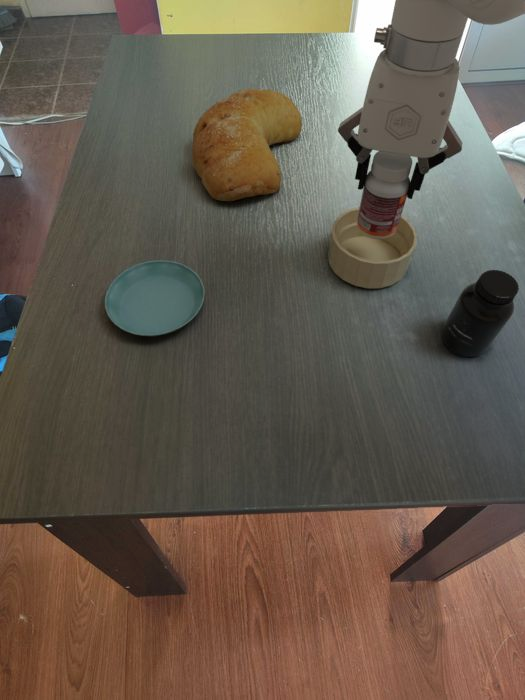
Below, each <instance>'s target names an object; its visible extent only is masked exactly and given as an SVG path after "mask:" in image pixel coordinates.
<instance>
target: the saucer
mask: <svg viewBox="0 0 525 700" xmlns="http://www.w3.org/2000/svg"><path fill="white" fill-rule="evenodd" d="M205 289H206V288H205V286H204V283H203V279H202V278H201V277H200V275H199V274H198V273H197V272H196V271H195V270H193V268H191V267H189V266H187V265H186V264H184V263H181V262H178V261H175V260H165V259H158V260H157V259H155V260H149V261H144V262H141V263H138V264H135V265H133V266H130V267H129V268H127V269H125V270H124V271H122V272H121V273H119V275H117V276H116V277H115V278H114V279H113V281H112V282H111V283H110V285H109V287H108V288H107V290H106V293H105V297H104V307H105V311H106V315H107V317H108V318H109V319H110V321H111V322H112V323H113V325H115V326H116V327H118V328H119V329H121V330H122V331H124V332H127V333H129V334H132V335H136V336H142V337H158V336H164V335H168V334H171V333H174V332H176V331H178V330H180V329H182V328H183V327H185V326H186V325H188V324H189V323H190V322H191V321H192V320H193V319H195V317H196V316H197V315H198V313H199V312H200V310H201V309H202V308H203V304H204V302H205V296H206V290H205Z"/></svg>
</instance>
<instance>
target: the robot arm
mask: <svg viewBox="0 0 525 700" xmlns="http://www.w3.org/2000/svg"><path fill="white" fill-rule="evenodd" d="M523 15H525V0H395V2H394V7H393V12H392V17H391V23H390V24H388V25H387V26H384V27H383V28H381V27H376V29H375V32H374V33H375V34H374V39H373V43H377V44H380V45H381V46H382V47H383V50H381V51H380V52H379V55H378V56H377V57H376V60H375V63H374V65H373V68H372V70H371V74H370V77H369V80H368V85H367V87H366V92H365V97H364V100H363V106H362V107H360V108H359V109H357V111H355V112H354V113H352V114H351V115H349V116H347V117H346V118H345V119H343V120H342V121H341V122H340V123H339V125H338V128H337V132H338V134H339V135H340V137H341V138H342V139H343V141H344V142H346V144H347V147H348V148H349V150H350V151H351V152H352V153H353V155H354V156H355V160H356V162H357V165H356V171H355V175H354V180H356V181H358V186H357V190H359V191H362V190H363V188H364V183H365V179H366V176H367V174H368V173H369V166H370V163H371V162H370V161H371V158H372V154H371V153H372V151H376V152H378V151H382V152H388V153H394V154H400V155H406V156H410V157H411V158H412V157H413V158H417V161H416V162H415V165H414V168H413V170H412V171H413V172H412V175H411V179H410V187H409V191H408V194H407V199H409V200H412V199H413V197H414V194H415V191H417V192H420V191H421V189H422V184H423V182H424V178H425V176H426V175H427V174H428V173H429V171H430V170H432V169H433V168H435V167H437V166H439V165H441V164H442V163H444V162H445V160H447V159H450V158H452V157H454V156H455V155H457V154H460V153H461V152H462V149H463V141H462V139H461V138H460V136H459V135H458V132H457V131H456V130H455V128H454V127H453V125H452V124H451V122H450V120H449V119H450V116H451V112H452V109H453V106H454V101H455V97H456V93H457V87H458V82H459V74H460V63H459V60H458V59H457V54H458V51H459V48H460V45H461V42H462V38H463V35H464V32H465V30H466V25H467V22H468V20H471V21H473V22H475V23H477V24H481V25H485V26H486V25H488V26H493V25H500V24H503V23H506V22H508V21H511V20H514V19H517V18H519V17H521V16H523ZM355 128H358V131H357V133H356V131H355V130H354V129H355ZM443 140H444V142H445V145H444V146H443V147H441V145H442V143H443Z"/></svg>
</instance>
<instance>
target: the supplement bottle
mask: <svg viewBox="0 0 525 700" xmlns="http://www.w3.org/2000/svg"><path fill="white" fill-rule="evenodd" d="M517 281H518V280H517V279H515V277H513V276H512V275H511V274H510V273H507V272H505V271H503V270H498V269H490V270H486V271H484V272H483V273H481V274H480V276H479V277H478V279H477V280H476V282H473V283H471V284H469V285H467V286H466V287H464V288H463V290H462V291H461V292H460V295H459V296H458V298H457V300H456V302H455V303H454V306H453V307H452V309H451V311H450V312H449V314H448V316H447V318H446V320H445V322H444V323H443V326H442V327H441V332H440V334H441V339H442V341H443V343H444V346H446V347H447V348H448V349H449V350H450V351H451V352H453V353H454V354H456V355H459V356H462V357H468V358H470V357H471V358H472V357H478V356H480V355H482V354H484V353H485V352H487V350H488V349H489V348H490V346H491V345H492V343H493V342H494V341H495V340H496V338H497V337H498V335H499V334H500V333H501V331H502V330H503V328H504V327H505V326H506V325H507V323H508V321H510V319H511V317H512V316H513V314H514V310H515V303H514V300H515V297H516V296H517V295H518V292H519V290H520V289H519V287H520V286H519V283H518V282H517Z"/></svg>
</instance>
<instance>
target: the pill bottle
mask: <svg viewBox="0 0 525 700" xmlns="http://www.w3.org/2000/svg"><path fill="white" fill-rule="evenodd" d="M412 166H413V158H412V156H406V155H400V154H394V153H388V152H382V151H376V152H375V154H374V155H373V158H372V163H371V166H370V170H369V171H368V172H367V176H366V179H365V183H364V187H363V189H362V192H361V193H362V194H361V199H360V204H359V207H360V208H359V213H358V218H357V227H358V229H359V231H360V232H361V233H363V234H364V235H366V236H368V237H371V238H375V239H385V238H388V237H390V236H392V235H393V234H394V233H395V232H396V230H397V228H398V225H399V221H400V218H401V215H402V216H403V212H404V207H405V205H406V201H407V199H408V197H407V194H408V191H409V187H410V181H411V179H410V175H411V170H412Z"/></svg>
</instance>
